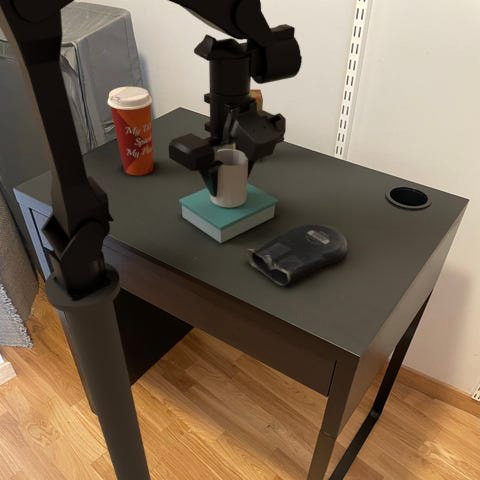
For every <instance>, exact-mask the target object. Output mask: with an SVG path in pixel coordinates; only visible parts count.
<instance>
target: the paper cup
mask: <svg viewBox="0 0 480 480" xmlns="http://www.w3.org/2000/svg"><path fill="white" fill-rule="evenodd" d="M152 103H153V98H152V97H151V96H150V94H149V91H148V90H147V89H145V88H143V87H139V86H121V87H116V88H114V89H112V90H111V91H109V94H108V99H107V105H108V106H109V108H110V112H111V116H112V121H113V124H114V129H115V135H116V141H117V144H118V148H119V153H120V159H121V162H122V166H123V170H124V172H125V173H127V174H128V175H131V176H144V175H148V174H149V173H151V172H153V170H154V169H153V168H154V150H153V149H154V148H153V129H152V127H153V126H152V124H153V123H152V106H151V104H152Z"/></svg>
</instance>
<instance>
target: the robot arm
mask: <svg viewBox="0 0 480 480" xmlns="http://www.w3.org/2000/svg"><path fill="white" fill-rule="evenodd" d="M74 1H75V0H0V30H1V32H2V34H3V35H4V37H5V39H6V41H7V43H8V44H9V46H10V48H11V50H12V52H13V54H14V56H15V58H16V60H17V63H18V65H19V68H20V71H21V75H22V78H23V82H24V85H25V88H26V92H27V96H28V99H29V102H30V106H31V108H32V112H33V116H34V119H35V122H36V126H37V129H38V132H39V133H38V134H40V139H41V143H42V146H43V148H44V149H43V150H44V153H45V157H46V159H47V163H48V166H49V169H50V173H51V187H50V201H51V209H52V212H51V213H50V215H49V216H48V218H47V220H46V221H45V222H44V224H43V225H42V227H41V228H40V232H41V233H42V235H43V236H44V237H45V239H46V241H47V242H48V244H49V245H50V247H51V248H52V250H50V251H48V255H49V259H50V262H51V265H52V268H53V271H54V272H55V275H56V276H55V277H53V281H54V282H55V283H56V284H57V286H58V287H59V288H60V289H61V290H62V291H63V292H64V293H65V294H66V295H67V296H68V297H69V298H70V299H71V300H72V301H76V300H79V299H81V298H83V297H85V296H87V295H89V294H91V293H93V292H95V291H97V290H99V289H101V288H103V287H106V286H108V285H110V284H111V280H110V279H109V278H108V277H107V276H106V275H105V274H107V269H106V264H105V262H106V260H105V256H104V255H105V254H104V252H103V251H102V250H103V245H104V241H105V239H106V237H107V236H109V234H110V232H111V231H110V230H111V224H110V222H114V221H115V220H114V217H112V215H111V213H110V208H109V207H110V206H109V197H108V194H107V192H106V191H105V190H104V189H103V188H102V187H101V185H100V184H99V183H98V182H97V181H96V180H95V179H94V178H93V176H91V175H89V176H88V174H87V169H86V165H85V162H84V157H83V154H82V149H81V145H80V141H79V136H78V133H77V128H76V125H75V120H74V116H73V112H72V108H71V104H70V100H69V96H68V91H67V87H66V82H65V78H64V75H63V71H62V65H61V55H62V47H63V46H62V44H63V35H64V34H63V21H62V10H63V9H64V8H65V7H67V6H68V5H70V4H71V3H73V2H74ZM167 1H168V2H171V3H173V4H176V5H178V6H180V7H181V8H182V9H185V10H186V11H187V12H188V13H190V14H191V15H192V16H193V17H195V18H196V19H198V20H199V21H201V22H202V23H204V24H205V25H206V26H208V27H209V28H212V29H214V30H216V31H218V32H220V33H222V34H225V35H226V36H229V37H230V38H223V39H217V38H215V37H214V36H212V35H210V34H205V35H204V37H203V39H202V40H201V41H200V42H199V43H198V44H197V45H196V47H194V49H193V54H195V55H196V56H198V57H200V58H202V59H204V60H205V61H207V62H208V66H209V67H208V75H209V76H208V77H209V78H208V79H209V80H208V81H209V92H208V93H204V94H203V102H204V103H206V104H208V105H209V121H207V122H204V131H206V132H208V133H210V136H209V137H206V138H202V137H200V136H198V135H196V134H194V133H192V132H190V133H187V134H184V135H181V136H177V137H174V138H172V139H171V140H170V142H169V143H168V158H169V159H170V160H172V161H173V162H176V163H177V164H179V165H181V166H182V167H184V168H186V169H187V170H188V171H191V172H199V174H200V176H201V178H202V180H203V182H204V185H205V187H206V188H208V190H209V192H210V194H211V195H212V196H213V197H216V196H217V190H218V169H219V168H220V167H221V166H222V165H223V162H221V161H219V160H218V159H217V152H218V150H222V149H225V148H226V147H229V146H231V145H234V144H235V147H236V150H239V151H242V152H243V153H244V154H245V156H246V157H247V158H248V177H247V181H248V179H250V176H251V172H252V170H253V168H254V166H255V162H258V161H257V160H259V161H260V160H261V159H262V158H265V157H267V156H271V155H273V154H274V151H275V150H276V149H275V148H276V146H277V145H278V144H281V143H282V142H284V141H285V134H286V130H287V129H286V128H287V127H286V126H287V125H286V124H287V118H286V117H284V115H283V114H282V113H280V112H278V113H275V114H272V113H271V112H268V111H266V110H264V109H262V110H259V111H257V102H256V98H253V97H251V96H250V89H251V83H252V82H251V80H253V81H254V82H255V83H256V84H259V85H263V84H269V83H272V82H278V81H283V80H288V79H293V78H295V77H296V76H297V75H298V74H299V72H300V70H301V68H302V63H303V62H302V61H303V57H302V55H301V53H302V52H301V49H300V45H299V42H298V40H297V39H296V37H295V31H296V28H295V27H294V26H292V25H290V24H287V23H284V24H279V25H277V26H274V27H270V25H269V23H268V21H267V19H266V16H265V15H264V14H263V11H262V3H261V0H167ZM239 40H240V41H242V40H243V41H244V40H246V42H240V43H239Z"/></svg>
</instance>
